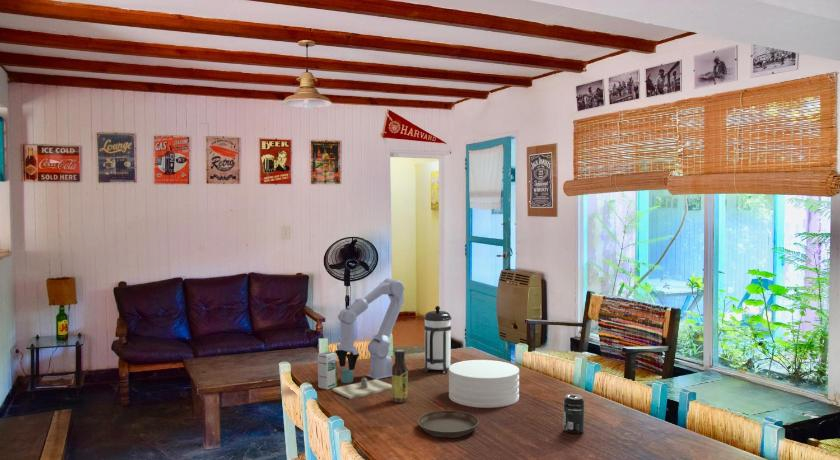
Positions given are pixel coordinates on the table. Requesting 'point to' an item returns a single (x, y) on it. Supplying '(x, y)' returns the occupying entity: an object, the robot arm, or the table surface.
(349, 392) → the post board
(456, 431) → the plant saucer
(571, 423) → the beverage can
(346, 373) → the teal cube
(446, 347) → the coffee press
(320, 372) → the syrup box
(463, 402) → the plate stack
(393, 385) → the sauce bottle
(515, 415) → the table surface
